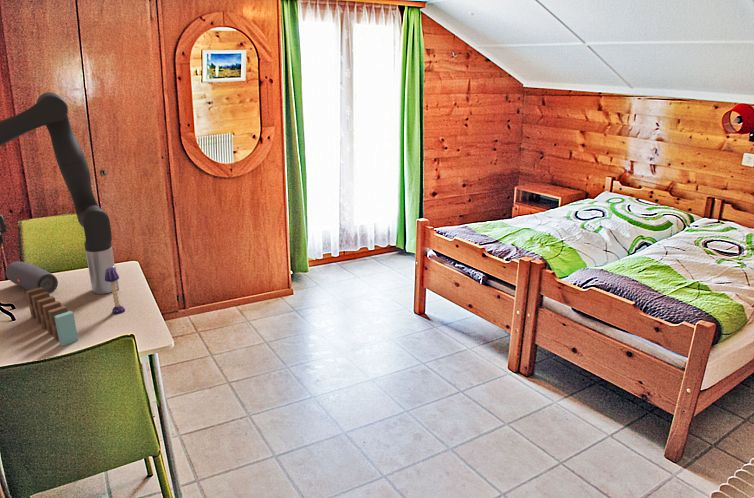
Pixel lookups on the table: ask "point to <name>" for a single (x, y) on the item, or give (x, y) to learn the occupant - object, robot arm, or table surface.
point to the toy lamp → (114, 289)
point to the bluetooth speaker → (31, 277)
